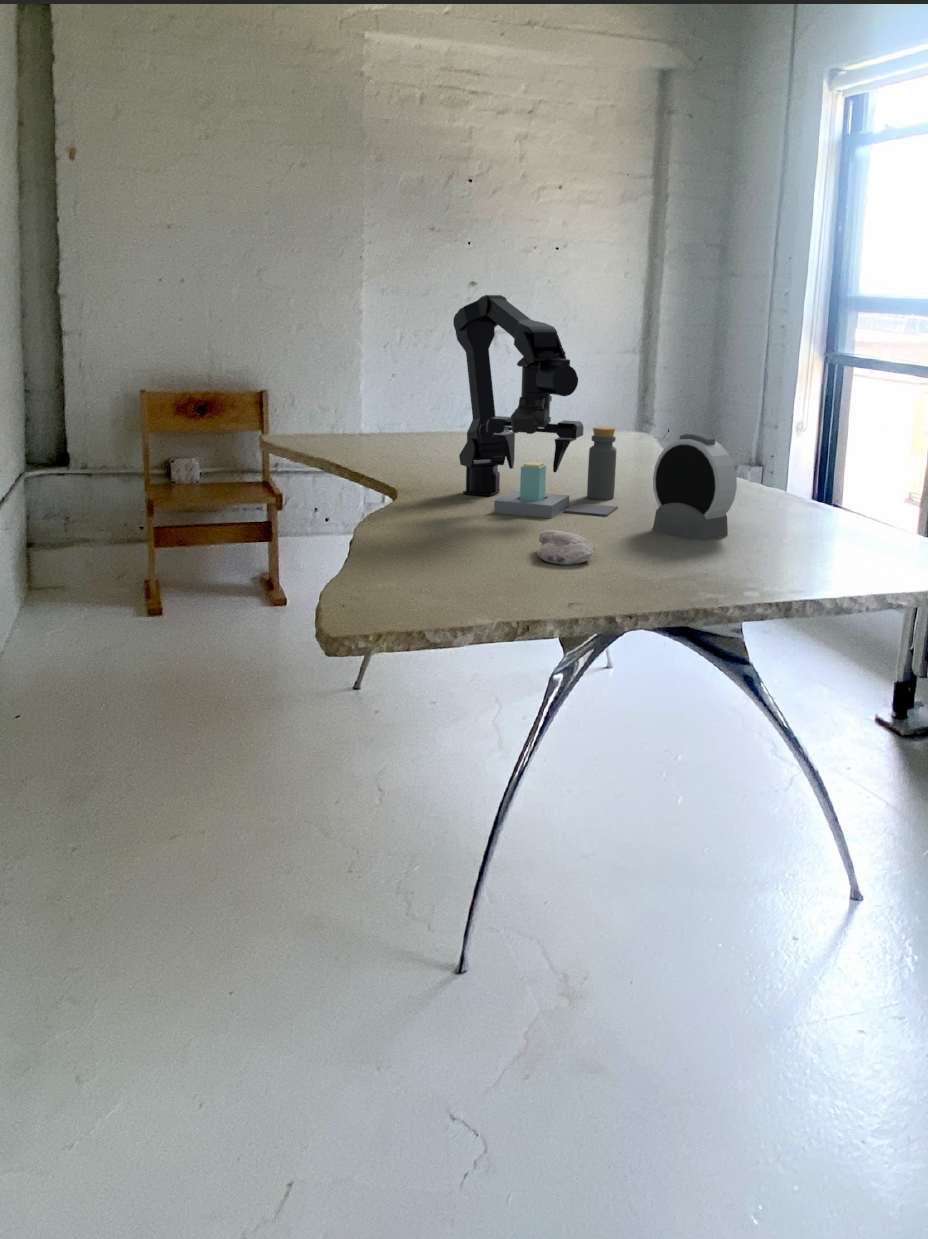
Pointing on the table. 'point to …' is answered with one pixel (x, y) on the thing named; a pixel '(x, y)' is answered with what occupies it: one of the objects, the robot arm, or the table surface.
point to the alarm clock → (694, 488)
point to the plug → (533, 481)
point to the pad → (591, 509)
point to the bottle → (602, 464)
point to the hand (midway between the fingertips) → (533, 470)
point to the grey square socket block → (531, 505)
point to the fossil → (564, 548)
